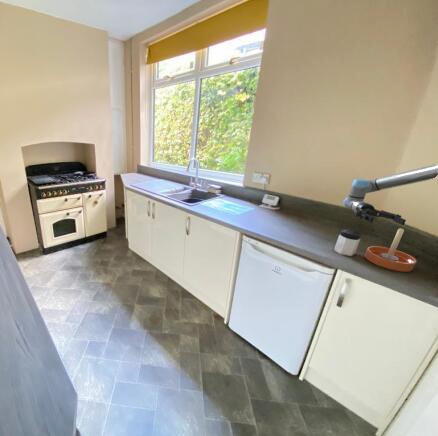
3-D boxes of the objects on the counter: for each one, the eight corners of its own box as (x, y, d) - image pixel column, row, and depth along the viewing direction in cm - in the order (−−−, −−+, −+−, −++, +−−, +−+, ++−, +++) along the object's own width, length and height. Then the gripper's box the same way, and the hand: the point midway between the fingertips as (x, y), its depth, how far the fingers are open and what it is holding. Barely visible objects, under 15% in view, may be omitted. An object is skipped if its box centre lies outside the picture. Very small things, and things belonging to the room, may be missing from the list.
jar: (330, 248, 132) (337, 228, 127) (344, 248, 132) (351, 228, 127) (343, 256, 123) (351, 235, 119) (358, 256, 124) (366, 235, 119)
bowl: (408, 262, 119) (412, 253, 117) (415, 277, 106) (420, 268, 104) (363, 251, 129) (366, 243, 127) (364, 264, 116) (368, 255, 115)
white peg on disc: (395, 261, 118) (410, 228, 111) (397, 266, 113) (412, 232, 107) (378, 257, 122) (391, 224, 115) (379, 262, 117) (393, 228, 110)
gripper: (386, 216, 138) (414, 230, 118) (337, 212, 143) (356, 225, 124) (390, 204, 135) (421, 216, 116) (340, 201, 140) (361, 212, 121)
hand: (387, 221), depth 120 cm, fingers open, 13 cm apart
